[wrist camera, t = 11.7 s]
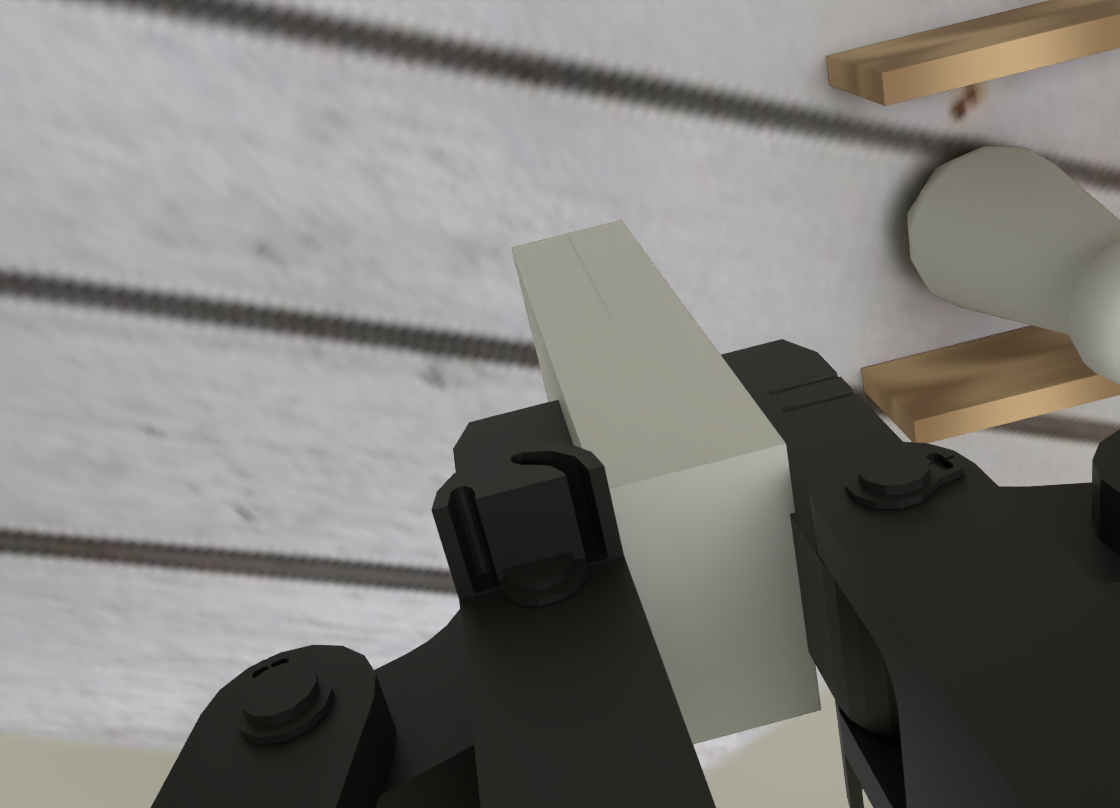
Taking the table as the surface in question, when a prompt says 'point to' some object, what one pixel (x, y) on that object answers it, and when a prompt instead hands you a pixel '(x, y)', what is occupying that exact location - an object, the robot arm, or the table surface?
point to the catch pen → (1016, 356)
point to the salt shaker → (1022, 248)
